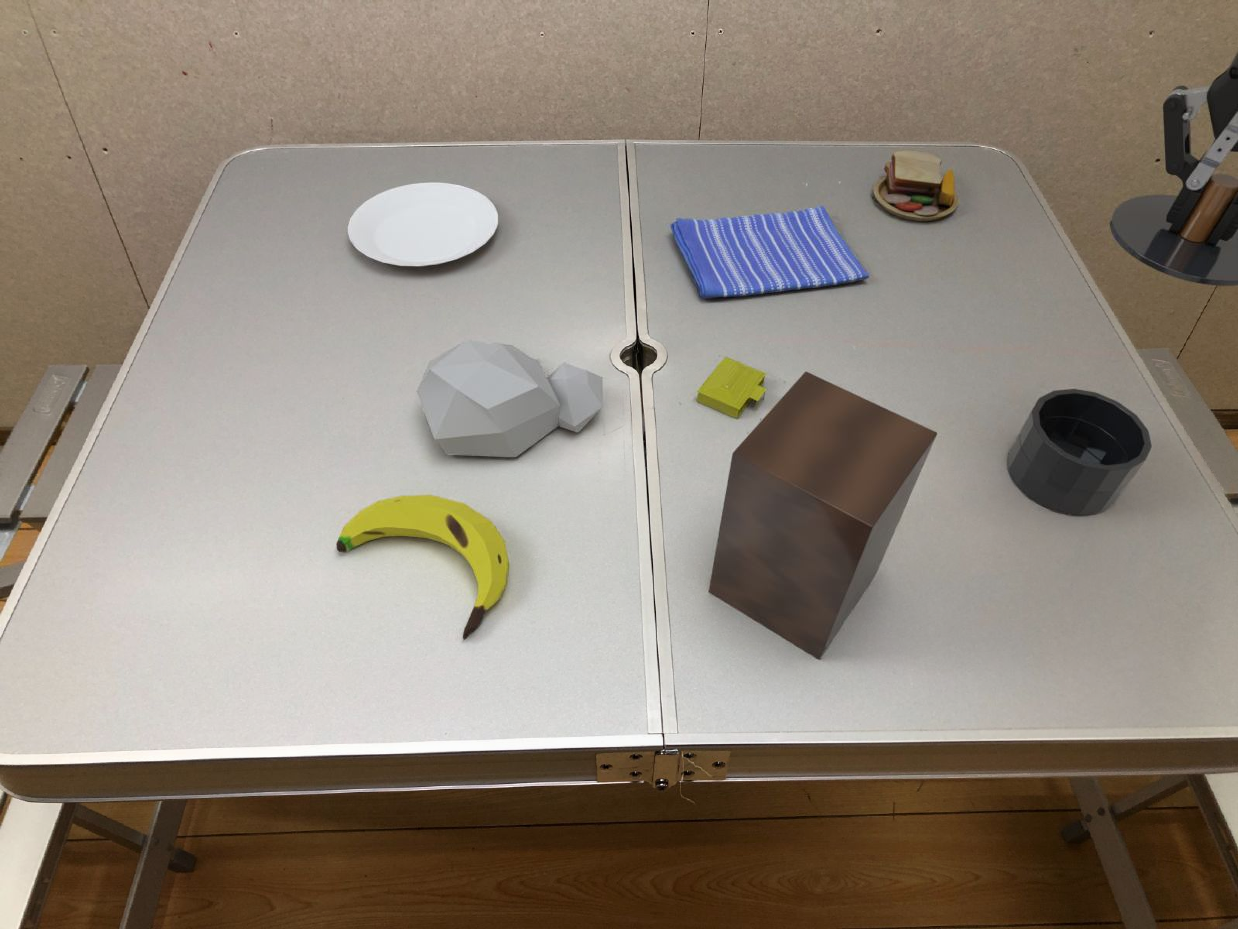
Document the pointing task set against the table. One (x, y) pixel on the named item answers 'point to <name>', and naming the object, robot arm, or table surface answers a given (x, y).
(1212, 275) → the lid
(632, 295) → the table surface
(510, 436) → the rock
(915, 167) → the toy sandwich meal
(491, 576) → the banana
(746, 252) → the dish towel
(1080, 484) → the pot
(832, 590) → the brown rectangular block
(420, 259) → the plate
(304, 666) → the table surface
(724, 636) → the table surface
